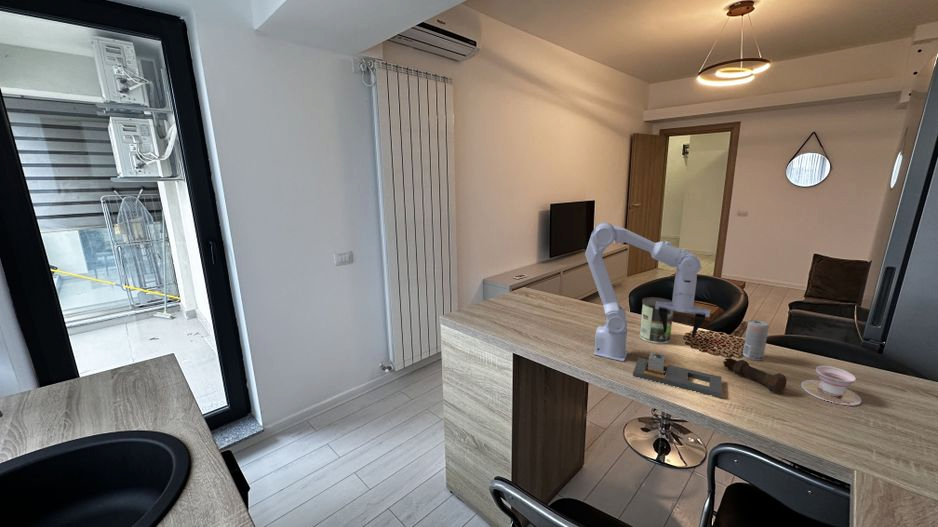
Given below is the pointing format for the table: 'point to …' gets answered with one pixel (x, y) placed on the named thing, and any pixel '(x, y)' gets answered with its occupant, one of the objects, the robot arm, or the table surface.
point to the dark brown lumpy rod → (757, 375)
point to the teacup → (833, 383)
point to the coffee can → (654, 322)
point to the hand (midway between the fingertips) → (678, 333)
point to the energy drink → (755, 340)
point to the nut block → (656, 363)
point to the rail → (681, 378)
